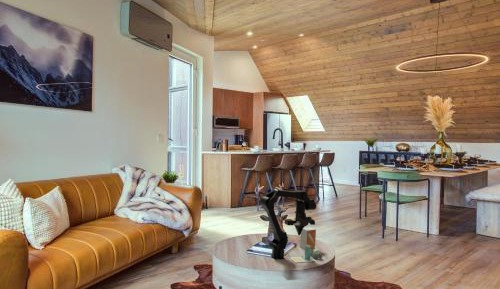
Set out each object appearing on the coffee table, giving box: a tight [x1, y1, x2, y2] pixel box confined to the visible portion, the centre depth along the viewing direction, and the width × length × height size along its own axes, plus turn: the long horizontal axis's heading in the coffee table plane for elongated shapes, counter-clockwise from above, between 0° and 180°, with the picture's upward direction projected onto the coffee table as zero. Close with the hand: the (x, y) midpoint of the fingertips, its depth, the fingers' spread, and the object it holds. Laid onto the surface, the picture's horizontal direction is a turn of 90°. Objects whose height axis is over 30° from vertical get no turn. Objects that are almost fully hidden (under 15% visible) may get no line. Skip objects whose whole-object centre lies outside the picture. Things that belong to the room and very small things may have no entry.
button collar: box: [311, 251, 323, 260], centre depth 221 cm, size 5×5×2 cm
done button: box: [313, 248, 321, 255], centre depth 221 cm, size 4×4×4 cm
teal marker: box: [303, 245, 312, 260], centre depth 217 cm, size 4×4×8 cm
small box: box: [299, 227, 317, 250], centre depth 239 cm, size 8×6×13 cm
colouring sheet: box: [289, 256, 316, 264], centre depth 216 cm, size 13×8×1 cm, turn 107°
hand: (299, 235), depth 225 cm, fingers closed
